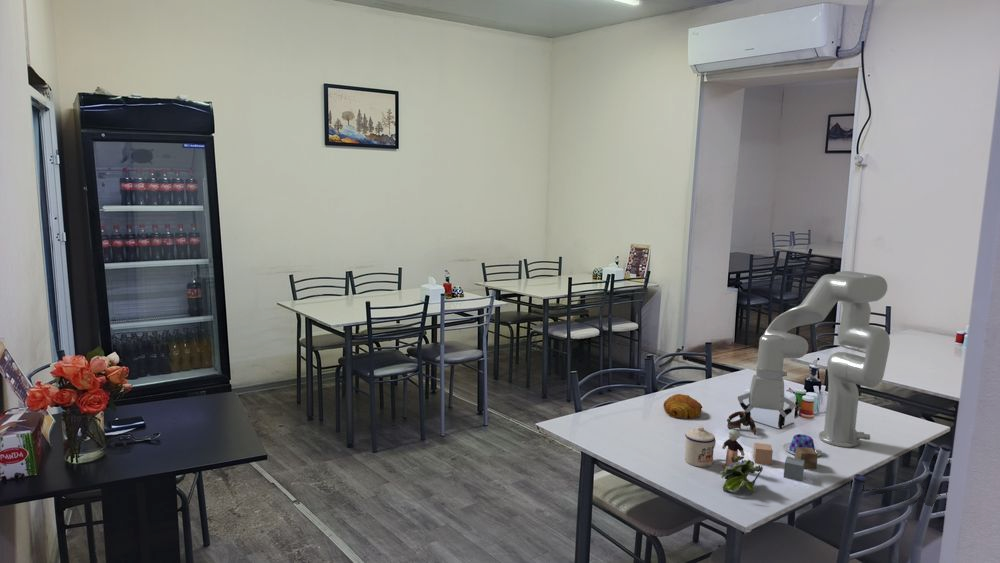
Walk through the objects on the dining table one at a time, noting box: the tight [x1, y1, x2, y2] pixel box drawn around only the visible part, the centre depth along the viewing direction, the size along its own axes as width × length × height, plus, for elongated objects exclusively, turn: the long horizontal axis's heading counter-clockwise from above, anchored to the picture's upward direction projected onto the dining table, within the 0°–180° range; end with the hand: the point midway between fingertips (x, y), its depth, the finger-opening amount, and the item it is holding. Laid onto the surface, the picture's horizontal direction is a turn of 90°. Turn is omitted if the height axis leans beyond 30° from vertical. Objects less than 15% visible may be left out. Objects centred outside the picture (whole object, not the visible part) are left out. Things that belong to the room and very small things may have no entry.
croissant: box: [662, 393, 703, 420], centre depth 250 cm, size 14×16×8 cm
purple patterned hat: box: [782, 433, 823, 457], centre depth 216 cm, size 12×12×5 cm
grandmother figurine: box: [721, 428, 745, 468], centre depth 201 cm, size 8×4×13 cm, turn 47°
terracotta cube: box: [752, 442, 774, 466], centre depth 207 cm, size 5×5×5 cm
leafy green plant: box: [720, 455, 764, 496], centre depth 187 cm, size 11×11×12 cm
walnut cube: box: [794, 447, 819, 470], centre depth 204 cm, size 5×5×5 cm
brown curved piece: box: [726, 410, 758, 436], centre depth 233 cm, size 12×10×8 cm
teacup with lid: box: [684, 425, 717, 468], centre depth 206 cm, size 12×9×12 cm
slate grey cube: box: [783, 456, 805, 482], centre depth 196 cm, size 5×5×5 cm
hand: (763, 425), depth 205 cm, fingers open, 9 cm apart
